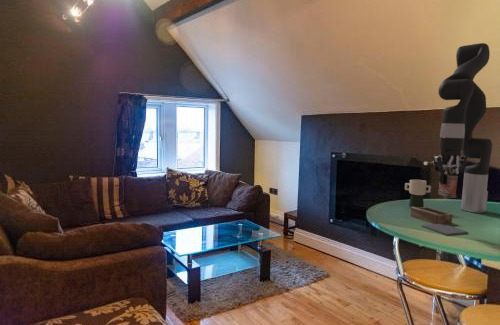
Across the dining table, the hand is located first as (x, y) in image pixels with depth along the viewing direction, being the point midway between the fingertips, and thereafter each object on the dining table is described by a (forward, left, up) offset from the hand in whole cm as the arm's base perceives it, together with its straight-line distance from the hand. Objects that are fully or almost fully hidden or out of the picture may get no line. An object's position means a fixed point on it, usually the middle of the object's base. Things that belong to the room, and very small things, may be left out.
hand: (447, 183), depth 126 cm
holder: (-7, -13, -17) cm, 23 cm away
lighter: (0, 0, -4) cm, 4 cm away
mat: (0, 0, -17) cm, 17 cm away
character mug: (-17, -31, -17) cm, 39 cm away
